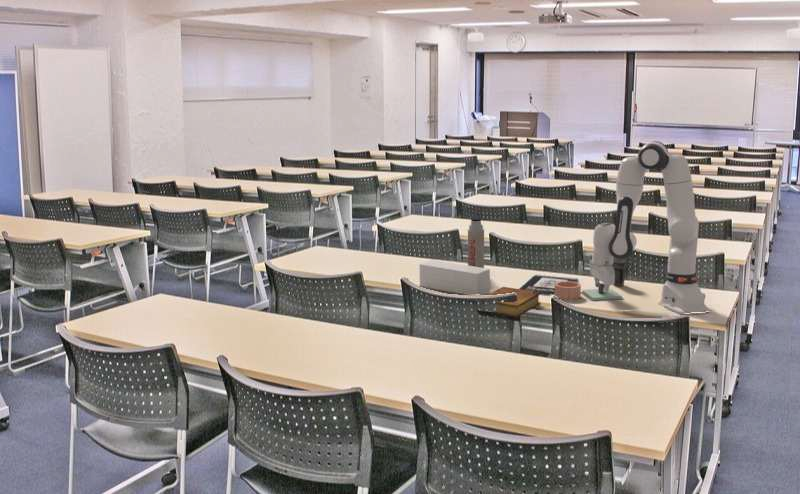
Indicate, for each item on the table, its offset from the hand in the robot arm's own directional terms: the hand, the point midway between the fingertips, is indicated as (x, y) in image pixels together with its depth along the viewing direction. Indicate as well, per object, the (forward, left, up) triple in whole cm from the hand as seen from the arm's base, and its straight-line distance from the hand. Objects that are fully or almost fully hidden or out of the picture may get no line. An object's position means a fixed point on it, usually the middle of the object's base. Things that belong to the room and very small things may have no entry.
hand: (601, 289), depth 362 cm
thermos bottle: (+51, +45, -4) cm, 68 cm away
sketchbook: (+22, +17, -4) cm, 28 cm away
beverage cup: (+15, -14, -4) cm, 21 cm away
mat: (0, 0, -3) cm, 3 cm away
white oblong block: (+27, +61, -4) cm, 67 cm away
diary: (-7, +44, -4) cm, 45 cm away
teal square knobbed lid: (0, 0, -3) cm, 3 cm away
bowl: (+2, +15, -3) cm, 15 cm away
